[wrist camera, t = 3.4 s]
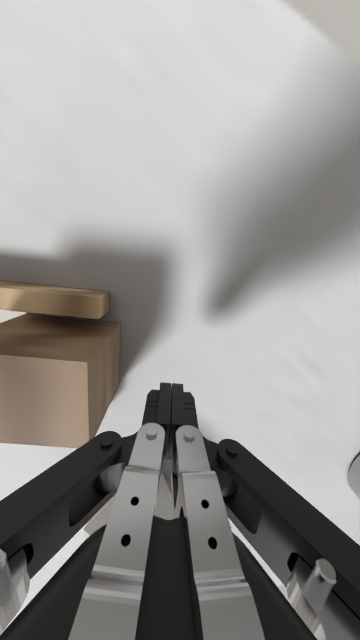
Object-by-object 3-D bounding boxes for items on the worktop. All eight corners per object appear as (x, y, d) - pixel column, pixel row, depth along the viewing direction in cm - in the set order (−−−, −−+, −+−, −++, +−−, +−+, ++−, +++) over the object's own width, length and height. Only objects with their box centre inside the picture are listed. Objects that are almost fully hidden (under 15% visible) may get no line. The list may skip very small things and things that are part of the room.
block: (120, 323, 18) (87, 362, 11) (119, 383, 20) (89, 448, 13) (25, 313, 18) (-69, 348, 11) (32, 376, 19) (-45, 439, 13)
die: (120, 440, 22) (41, 562, 16) (193, 481, 19) (126, 663, 12) (141, 466, 27) (87, 568, 21) (202, 503, 24) (158, 641, 17)
